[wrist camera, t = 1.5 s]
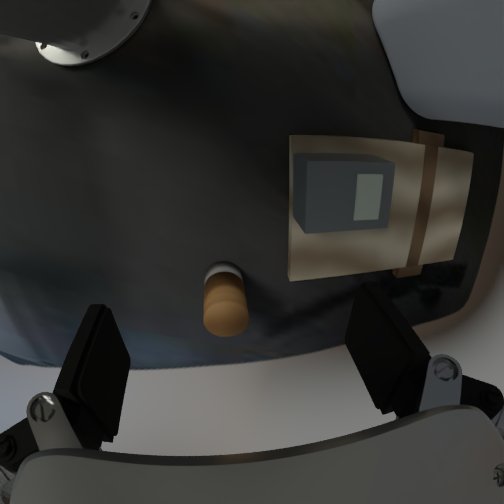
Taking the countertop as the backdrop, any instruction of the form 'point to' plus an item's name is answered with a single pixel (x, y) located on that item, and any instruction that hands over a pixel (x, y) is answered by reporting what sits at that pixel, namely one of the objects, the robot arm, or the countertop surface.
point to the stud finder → (341, 191)
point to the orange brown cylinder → (225, 300)
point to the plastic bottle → (446, 56)
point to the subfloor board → (401, 211)
